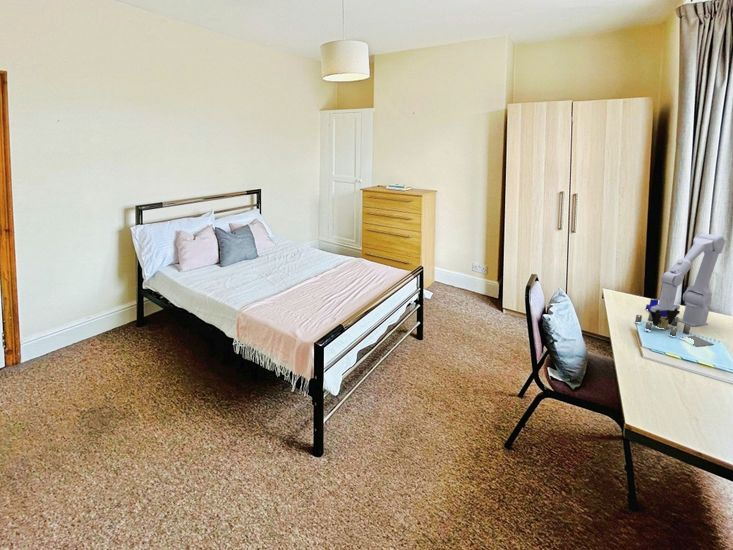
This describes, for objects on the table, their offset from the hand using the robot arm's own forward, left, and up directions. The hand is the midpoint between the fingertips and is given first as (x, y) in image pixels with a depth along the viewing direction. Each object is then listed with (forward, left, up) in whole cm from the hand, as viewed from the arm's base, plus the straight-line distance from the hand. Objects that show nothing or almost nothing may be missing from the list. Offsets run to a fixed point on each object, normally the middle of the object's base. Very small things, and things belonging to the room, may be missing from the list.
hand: (661, 324), depth 201 cm
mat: (-2, +15, -2) cm, 16 cm away
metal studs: (0, 0, -2) cm, 2 cm away
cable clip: (-13, -16, -2) cm, 21 cm away
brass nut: (0, 0, -2) cm, 2 cm away
